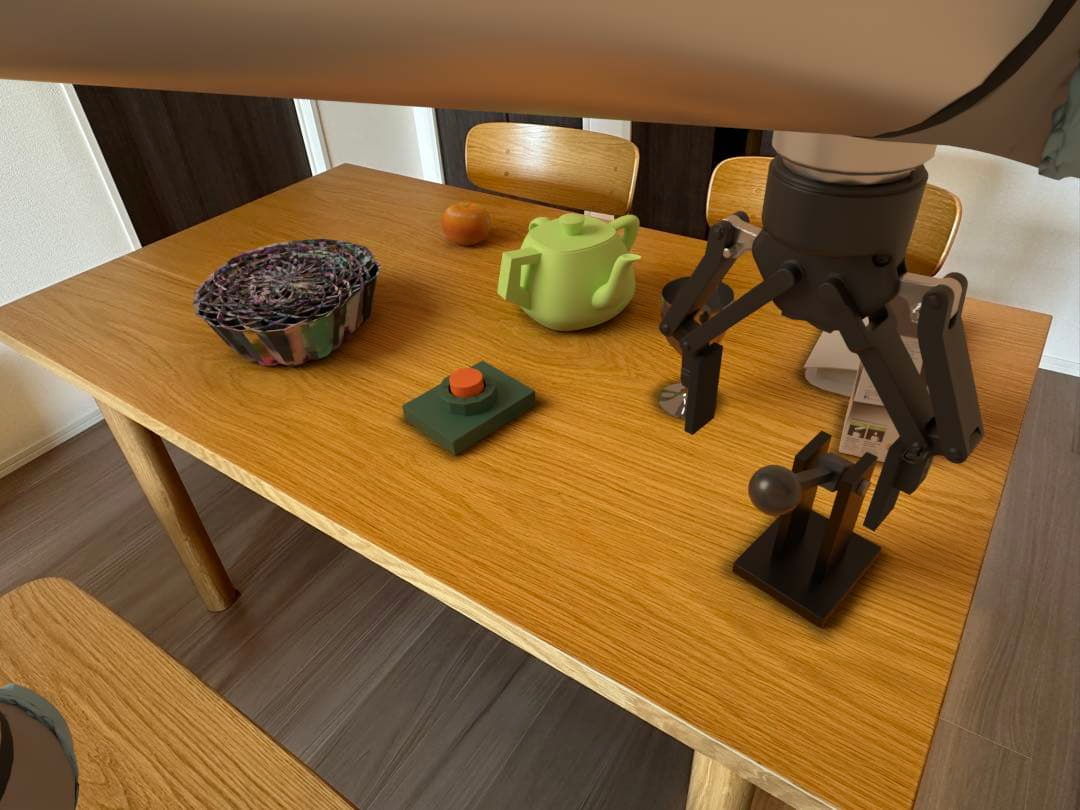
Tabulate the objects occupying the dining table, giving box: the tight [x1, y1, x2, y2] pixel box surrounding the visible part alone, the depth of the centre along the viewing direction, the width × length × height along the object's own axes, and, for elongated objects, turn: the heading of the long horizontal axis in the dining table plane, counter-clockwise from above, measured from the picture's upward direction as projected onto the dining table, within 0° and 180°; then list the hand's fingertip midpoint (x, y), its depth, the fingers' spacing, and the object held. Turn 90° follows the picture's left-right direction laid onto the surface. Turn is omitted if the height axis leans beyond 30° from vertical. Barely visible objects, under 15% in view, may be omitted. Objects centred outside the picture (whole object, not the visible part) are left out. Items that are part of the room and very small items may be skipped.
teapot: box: [496, 212, 642, 332], centre depth 100 cm, size 19×20×14 cm
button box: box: [401, 360, 537, 457], centre depth 85 cm, size 13×10×4 cm
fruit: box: [441, 201, 492, 246], centre depth 124 cm, size 8×8×8 cm
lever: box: [747, 451, 856, 517], centre depth 53 cm, size 15×4×4 cm, turn 134°
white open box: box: [803, 317, 930, 398], centre depth 90 cm, size 15×23×4 cm, turn 148°
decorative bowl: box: [192, 238, 382, 368], centre depth 102 cm, size 26×28×10 cm
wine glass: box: [657, 276, 735, 419], centre depth 81 cm, size 8×8×15 cm
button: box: [449, 367, 484, 398], centre depth 84 cm, size 4×4×2 cm
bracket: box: [731, 430, 883, 629], centre depth 61 cm, size 11×9×14 cm
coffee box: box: [838, 296, 928, 463], centre depth 74 cm, size 9×6×16 cm
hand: (781, 467), depth 48 cm, fingers open, 13 cm apart
